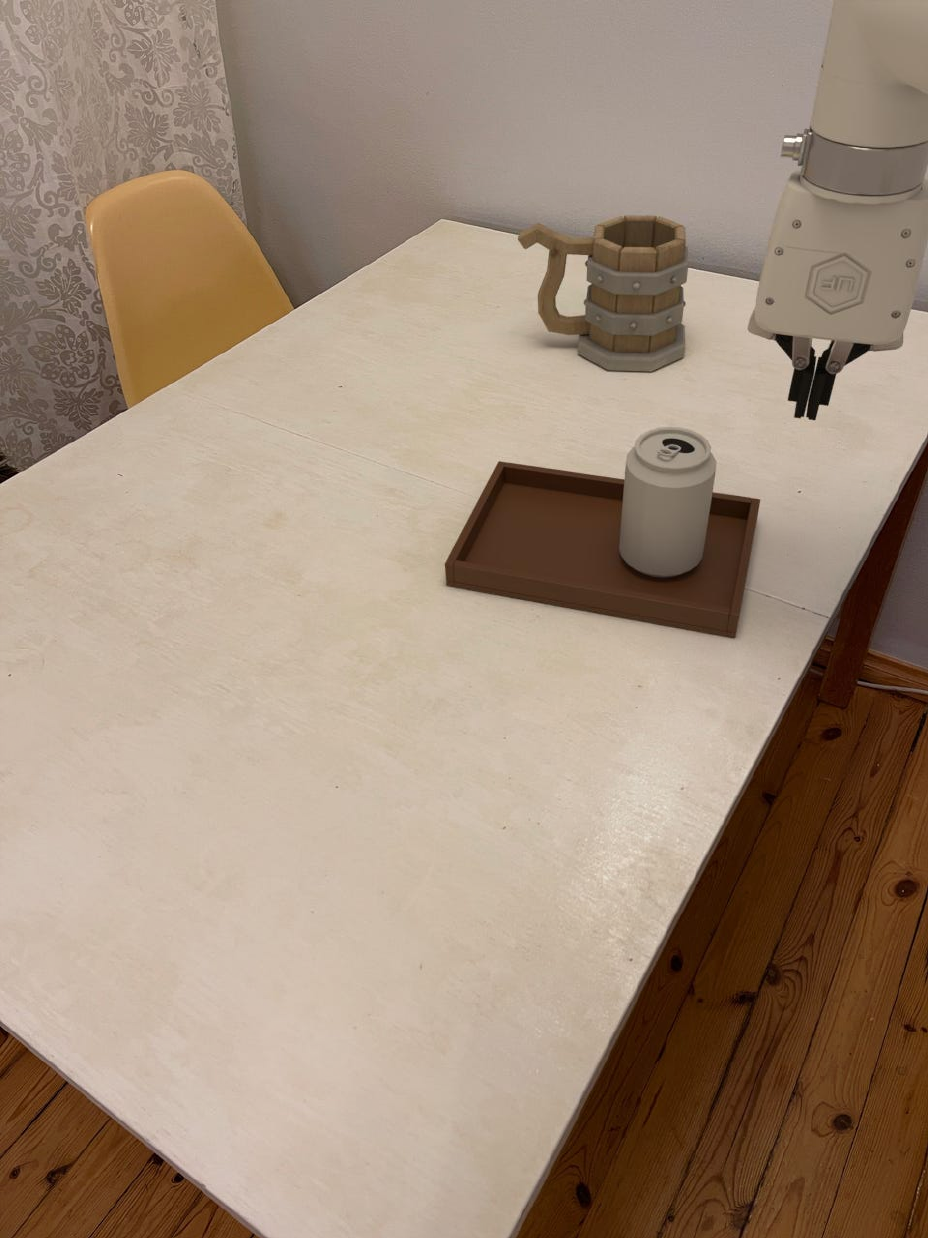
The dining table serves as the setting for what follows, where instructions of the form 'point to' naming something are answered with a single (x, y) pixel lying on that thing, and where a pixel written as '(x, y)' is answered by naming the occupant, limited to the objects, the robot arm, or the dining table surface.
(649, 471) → the can
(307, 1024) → the dining table surface
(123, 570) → the dining table surface
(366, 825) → the dining table surface
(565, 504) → the tray
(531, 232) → the tankard
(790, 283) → the robot arm
